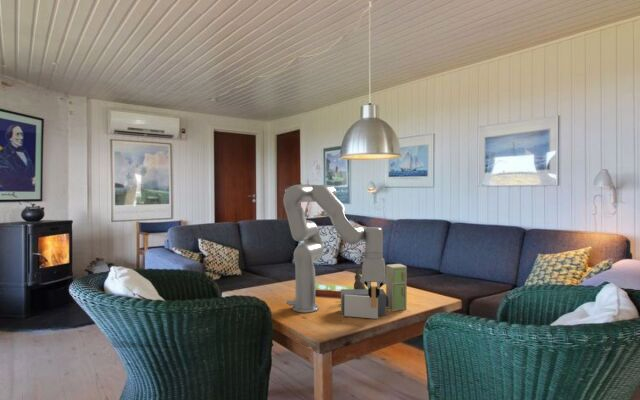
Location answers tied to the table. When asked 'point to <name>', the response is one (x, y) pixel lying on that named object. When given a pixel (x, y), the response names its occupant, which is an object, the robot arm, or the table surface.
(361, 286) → the brown carved statuette
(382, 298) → the grey toy microwave
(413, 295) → the table surface
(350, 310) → the side door
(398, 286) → the toy refrigerator
